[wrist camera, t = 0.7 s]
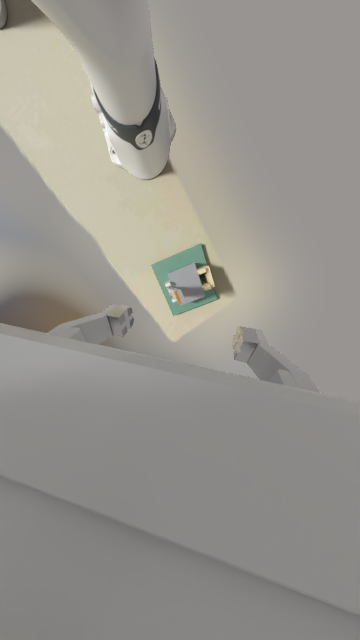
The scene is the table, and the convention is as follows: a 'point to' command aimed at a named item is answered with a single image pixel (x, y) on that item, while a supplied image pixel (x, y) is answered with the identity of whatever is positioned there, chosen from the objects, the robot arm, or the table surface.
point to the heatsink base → (179, 263)
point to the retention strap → (176, 294)
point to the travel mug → (2, 13)
